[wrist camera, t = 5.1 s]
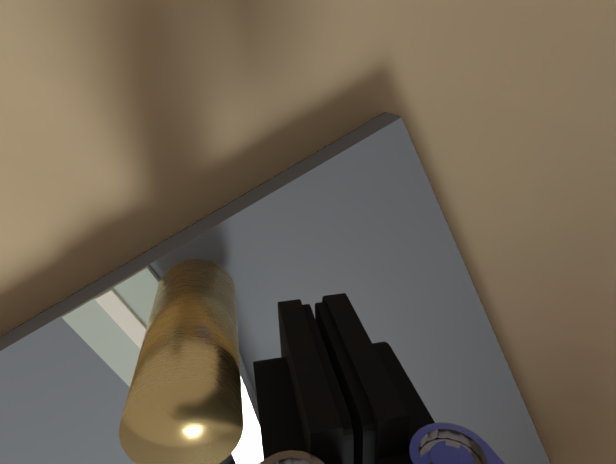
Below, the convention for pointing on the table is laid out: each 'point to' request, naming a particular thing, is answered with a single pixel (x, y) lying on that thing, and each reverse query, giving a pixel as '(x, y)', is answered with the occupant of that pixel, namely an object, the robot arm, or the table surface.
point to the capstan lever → (192, 376)
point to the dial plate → (264, 304)
